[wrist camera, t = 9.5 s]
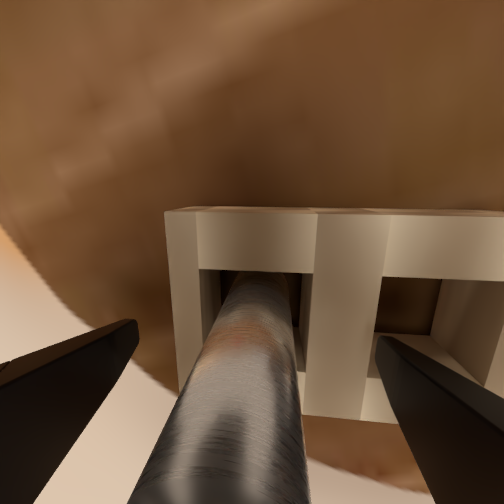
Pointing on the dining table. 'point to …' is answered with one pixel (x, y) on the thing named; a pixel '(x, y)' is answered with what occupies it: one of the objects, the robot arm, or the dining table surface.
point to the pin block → (347, 290)
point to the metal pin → (236, 410)
